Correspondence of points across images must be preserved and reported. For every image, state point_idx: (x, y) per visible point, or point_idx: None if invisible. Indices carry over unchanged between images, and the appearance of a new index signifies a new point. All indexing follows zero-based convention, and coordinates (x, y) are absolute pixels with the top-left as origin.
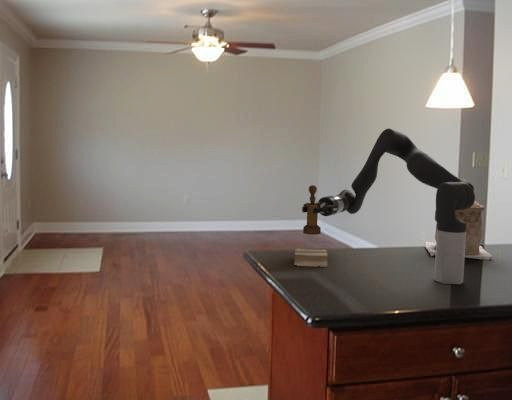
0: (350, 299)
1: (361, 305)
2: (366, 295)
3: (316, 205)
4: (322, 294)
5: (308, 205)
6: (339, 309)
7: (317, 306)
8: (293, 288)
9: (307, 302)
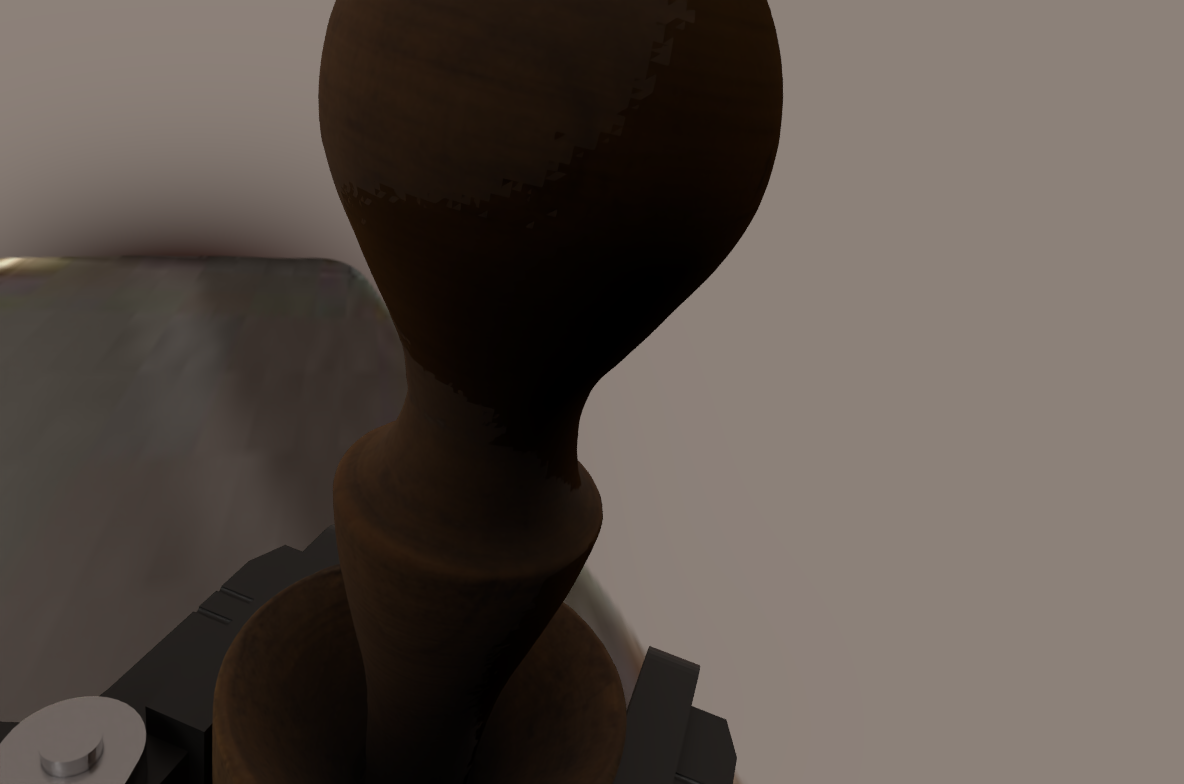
0: (163, 342)
1: (136, 301)
2: (48, 374)
3: (285, 610)
4: (290, 382)
5: (549, 623)
6: (244, 283)
7: (325, 302)
8: None
9: (362, 325)
